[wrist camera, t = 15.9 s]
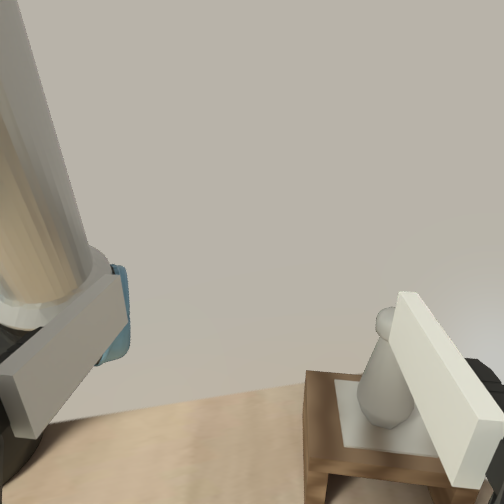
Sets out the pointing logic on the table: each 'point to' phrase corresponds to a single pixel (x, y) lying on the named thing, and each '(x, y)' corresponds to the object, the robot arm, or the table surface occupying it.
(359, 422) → the walnut shelf
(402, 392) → the salt shaker
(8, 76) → the robot arm
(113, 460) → the table surface
